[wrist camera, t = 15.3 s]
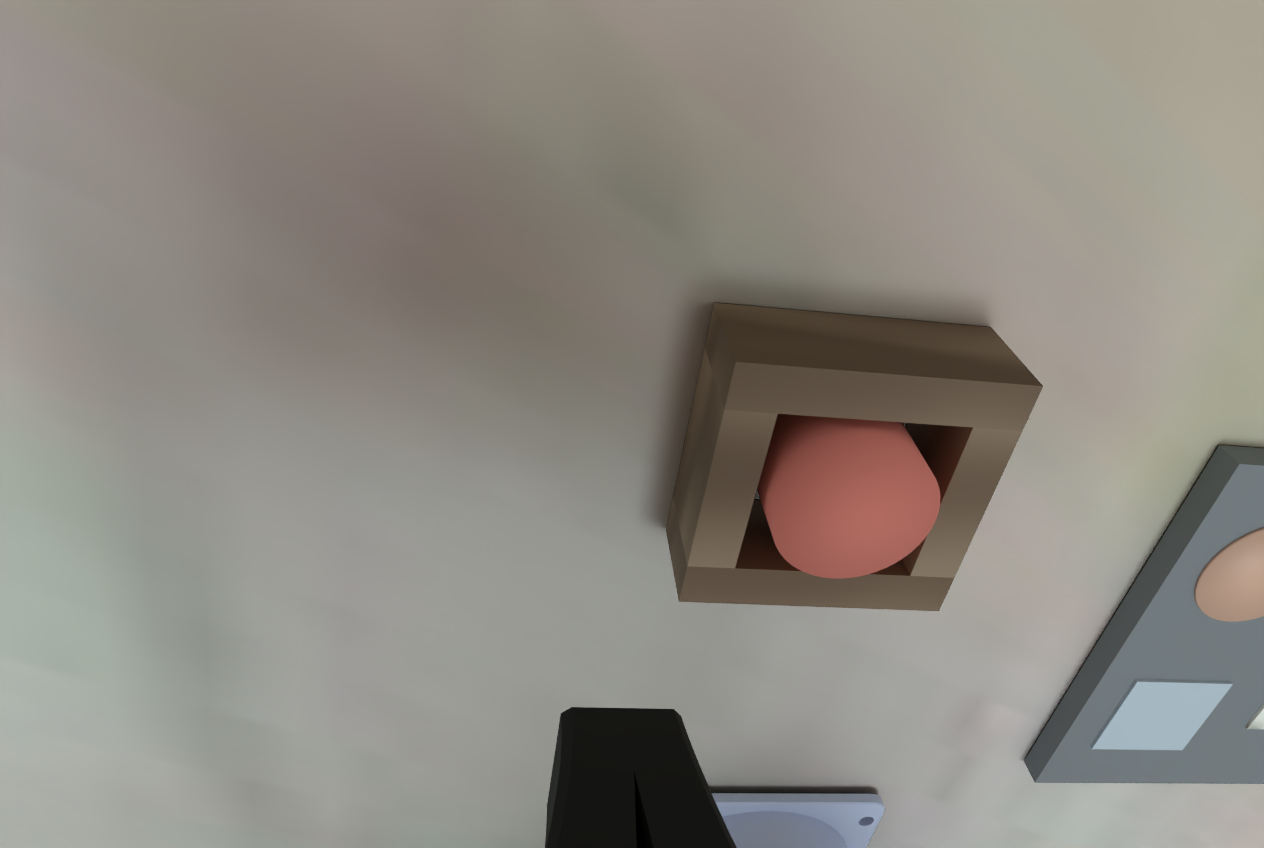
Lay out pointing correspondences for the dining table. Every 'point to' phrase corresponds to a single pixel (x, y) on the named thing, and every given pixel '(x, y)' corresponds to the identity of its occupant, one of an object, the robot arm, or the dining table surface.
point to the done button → (846, 494)
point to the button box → (839, 388)
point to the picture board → (1178, 653)
